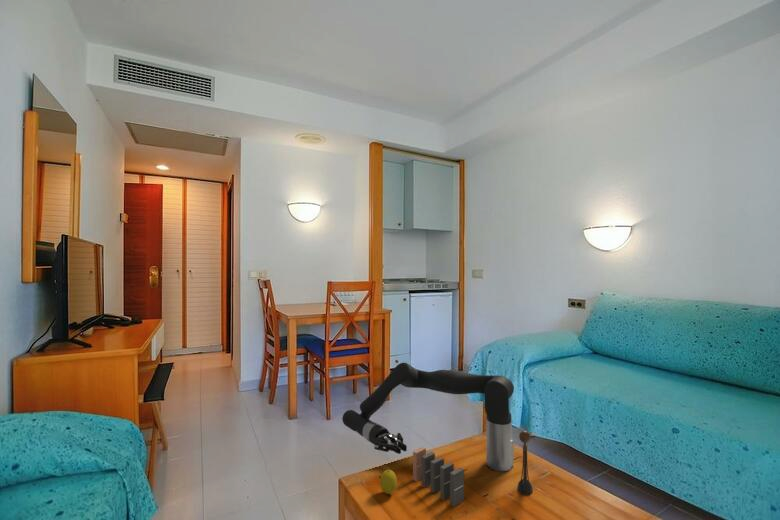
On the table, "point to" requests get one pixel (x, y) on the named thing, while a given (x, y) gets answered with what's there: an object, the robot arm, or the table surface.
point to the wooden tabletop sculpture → (525, 465)
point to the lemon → (388, 481)
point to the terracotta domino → (418, 463)
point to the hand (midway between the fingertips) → (403, 449)
